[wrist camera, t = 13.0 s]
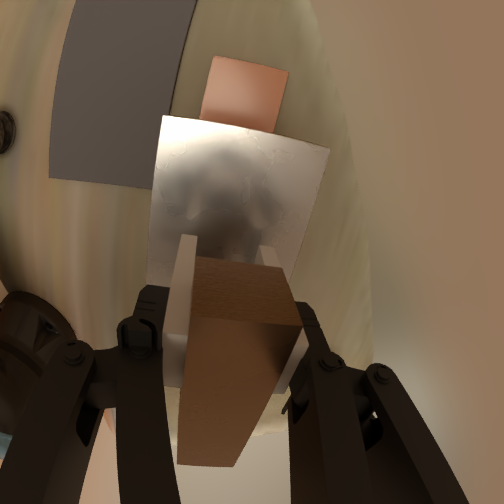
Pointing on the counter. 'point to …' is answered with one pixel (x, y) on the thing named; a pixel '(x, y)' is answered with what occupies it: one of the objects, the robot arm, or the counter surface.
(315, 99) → the counter surface
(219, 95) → the tile
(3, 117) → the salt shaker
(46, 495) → the robot arm
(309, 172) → the trowel
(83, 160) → the mat
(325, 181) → the counter surface
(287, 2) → the counter surface
